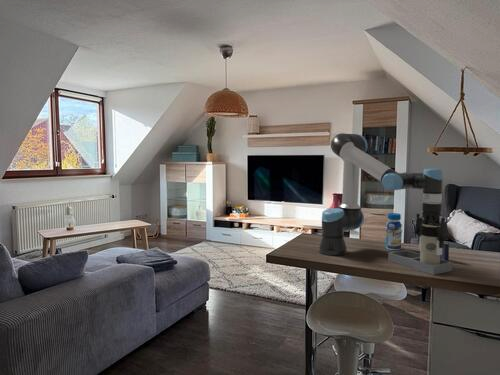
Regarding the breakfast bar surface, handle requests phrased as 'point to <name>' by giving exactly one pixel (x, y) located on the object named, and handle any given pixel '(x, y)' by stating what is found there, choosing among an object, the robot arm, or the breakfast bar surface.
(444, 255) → the flask
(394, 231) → the beverage bottle
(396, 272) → the breakfast bar surface
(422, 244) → the travel mug
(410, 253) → the grey divided tray
